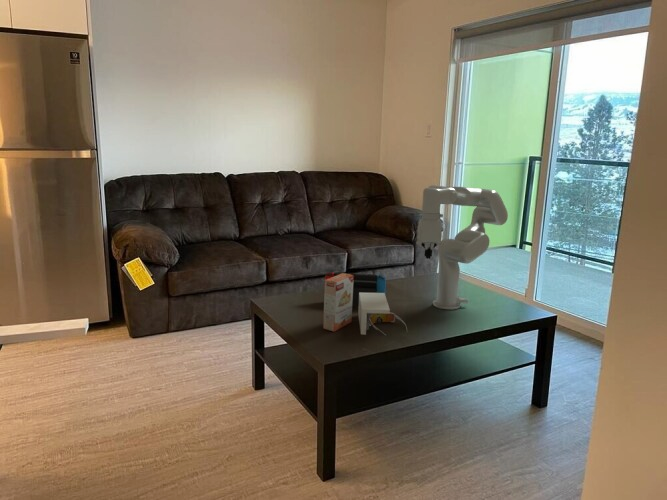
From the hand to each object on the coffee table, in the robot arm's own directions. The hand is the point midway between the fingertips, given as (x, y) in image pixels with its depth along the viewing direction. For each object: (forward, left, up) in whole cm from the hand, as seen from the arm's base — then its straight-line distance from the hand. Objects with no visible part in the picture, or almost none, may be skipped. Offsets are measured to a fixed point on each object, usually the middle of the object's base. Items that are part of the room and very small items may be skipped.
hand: (427, 257), depth 231 cm
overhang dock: (+25, +17, -25) cm, 39 cm away
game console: (+31, -9, -25) cm, 41 cm away
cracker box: (+39, +19, -25) cm, 50 cm away
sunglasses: (+19, +20, -26) cm, 37 cm away
